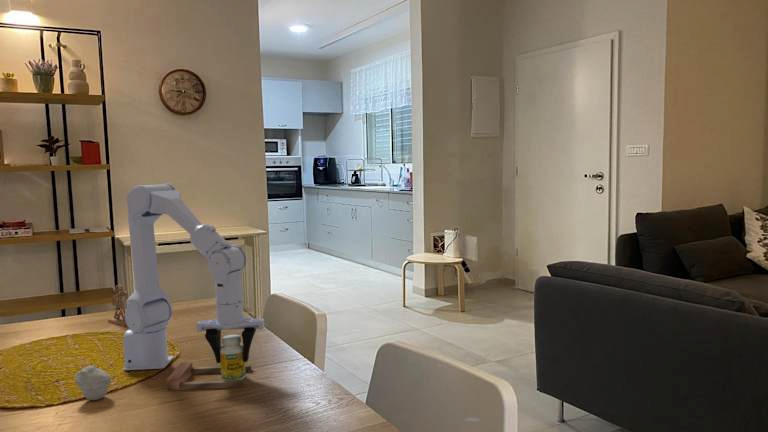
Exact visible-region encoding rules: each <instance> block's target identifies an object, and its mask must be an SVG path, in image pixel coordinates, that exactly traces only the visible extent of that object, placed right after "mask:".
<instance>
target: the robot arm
mask: <svg viewBox="0 0 768 432" xmlns="http://www.w3.org/2000/svg"><path fill="white" fill-rule="evenodd" d="M181 195H182V194H181V192H180V191H179V190H178V189H177V188H176V187H175V185H173V184H171V183H167V182H166V183H163V184H147V185H144V184H143V185H140V184H137V185H134V186H133V187H132V188H131V189H130V190H129V192H128V193H127V194H126V204H127V212H128V215H127V219H128V220H127V221H128V228H129V229H128V230H129V240H130V250H131V260H132V269H133V271H132V272H133V279H134V291H133V292H132V294H131V295H129V296H128V299H127V301H126V302H125V304H126V308H125V315H124V316H125V321H126V324H127V325H126V326H127V327H128V329H127V330H126V331H125V333H124V335H123V338H122V339H123V341H122V350H123V362H124V367H123V371H138V370H141V371H142V370H159V369H160V370H162V369H165V368H166V367H167V366H168V364H170V362H171V361H172V360H173V359H174V355H168V354H169V353H168V352H169V351H168V339H167V326H169V321H170V320H171V319H172V317H173V306H172V304H171V302H170V299H169V293H168V292H167V291H165V290H164V289H162V288H161V287H160V279H159V278H160V277H159V269H158V260H157V259H158V258H157V246H156V239H155V238H156V237H155V228H154V227H155V225H154V224H155V222H157V220H158V219H159V218H160V217H161V216H162V215H168V217H170V218H171V219H172V220H173V221H175V222H176V224H178V225H179V226H180V227H181V228H182V229H184V230H185V232H186V233H188V234H189V242H190V243H191V244H192V245H193V246H194V247H195V249H196V250H197V251H198V252H199V253H200V254H201V255H202V256H203V257H204V258H205V259H206V260H207V261H208V262H207V267H208V269H209V271H210V273H211V275H212V281H213V282H214V284H215V285H214V287H215V301H216V304H215V305H216V319H208V320H199V321H198V322H196V333H199V332H201V333H202V332H205V334H204V337H205V340H206V341H207V343H208V344H209V345H210V348H211V350H212V353H213V355H214V357H215V361H216V364H221V363H220V348H221V347H222V346H221V345H222V331H229V330H230V331H232V330H243V331H242V332H241V337H242V338H241V339H242V340H241V341H242V345H243V349H244V350H243V359H244V362H245V363H248V361H249V357H250V349H251V346H252V342H253V339H254V335H255V334H256V330H257V329H258V330H264V328H265V318H256V317H255V318H253V317H252V318H251V317H244V300H243V298H244V297H243V278H242V275H243V274H242V271H243V270H244V269H245V268H246V264H247V256H246V253H245V251H244V250H243V249H242V247H241V246H240V245H239V246H238V245H233V244H232V243H230V242H229V241H228V240H226V239H224V237H223V236H222V235H220V233H219V232H218V231H217V228H216V227H215V226H214V225H211V224H207V223H205V224H204V223H202V222H201V221H200V220H199V219H198V217H197V216H196V215H195V214H194V213H193V212H192V211H191V209H190V208H189V207H188V206H187V205H186V203H185V202H184V201H183V200H182V196H181Z"/></svg>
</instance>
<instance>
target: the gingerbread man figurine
mask: <svg viewBox="0 0 768 432" xmlns="http://www.w3.org/2000/svg"><path fill="white" fill-rule="evenodd" d="M114 287H115V288H114V292H115V294H114V295H113V296H112V298H111V304H112V306H116V308H115V311H114V316H113V317H111V318H108V319H107V322H108V323H110V324H114V325H117V326H123V327H126V326H127V324H126V321H125V312H126V308H125V303H126V301H127V299H128V298H129V295H128V292H127V291H124V288H123V286H122V284H116V285H115V286H114ZM123 297H124V298H125V299H124V300H123ZM115 298H117V299H115ZM119 309H120V310H119Z"/></svg>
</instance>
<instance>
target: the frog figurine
mask: <svg viewBox="0 0 768 432" xmlns="http://www.w3.org/2000/svg"><path fill="white" fill-rule="evenodd" d="M74 379H75V383H76V386H77V387H78V388H79V390H80V391H81V392H82V395H83V396H84V398H86V399H87V400H91V401H97V400H100V399H102V398H104V397H105V396H106V395H107V393H108V391H109V387H110V385H111V383H112V378H111V374H109V373H107V372H106V371H105V370H103V369H101V368H97V366H94V365H87V366H85V367H83V368H82V369H81V370H80V371H77V373H75V375H74Z"/></svg>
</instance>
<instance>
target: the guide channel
mask: <svg viewBox="0 0 768 432" xmlns="http://www.w3.org/2000/svg"><path fill="white" fill-rule="evenodd" d="M245 369H246V373H247V372H251V371H252V364H245ZM204 374H205V375H206V374H221V365H216V366H213V365H212V366H211V365H209V366H193V361H181V362H180V363H179V365H177V366H176V368H175V369H174V370H173V371H172V372H171V374H170V375H169V376H168V377H167V379H166V386H167V391H185V390H186V391H187V390H206V389H209V390H210V389H226V388H228V389H229V388H230V387H231V388H243V387H244V386H245V385H244V384H245V379H242V380H222V379H221V380H206V381H202V380H201V381H187V380H188V379H189V378H190V377H191V375H204Z"/></svg>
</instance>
